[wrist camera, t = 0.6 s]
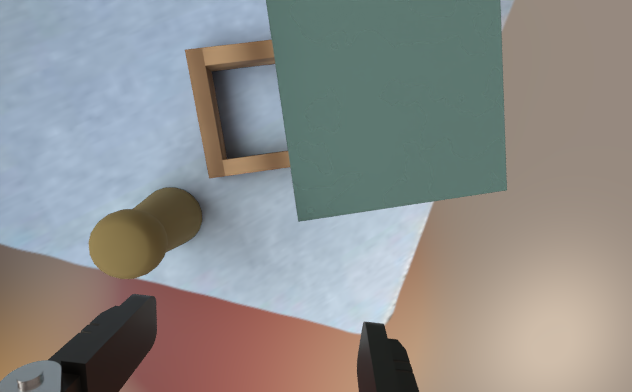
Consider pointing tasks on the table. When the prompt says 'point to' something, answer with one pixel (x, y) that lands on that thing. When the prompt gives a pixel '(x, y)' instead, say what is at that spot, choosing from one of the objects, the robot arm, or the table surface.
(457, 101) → the mint green stool
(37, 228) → the table surface
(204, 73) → the socket
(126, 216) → the cork
